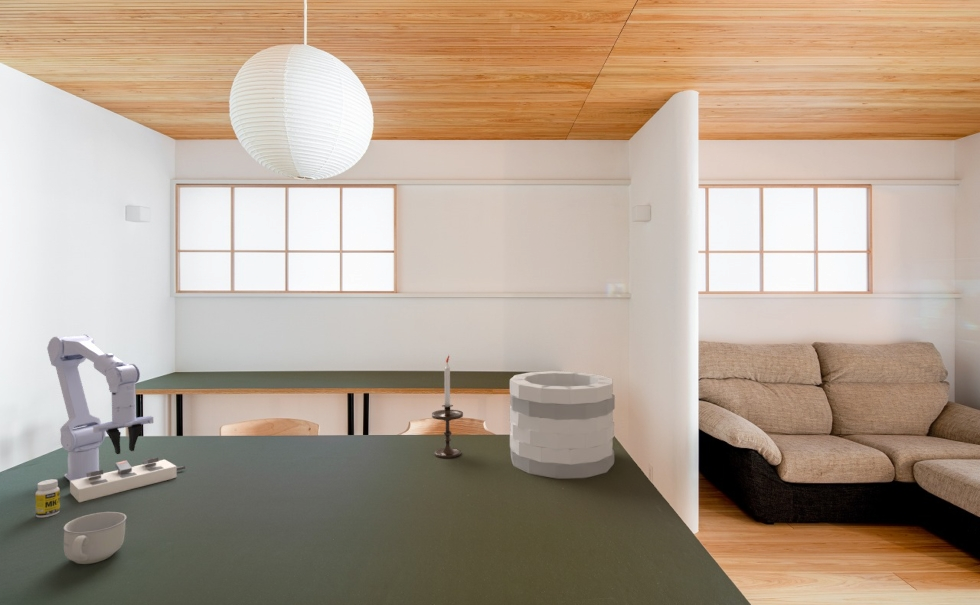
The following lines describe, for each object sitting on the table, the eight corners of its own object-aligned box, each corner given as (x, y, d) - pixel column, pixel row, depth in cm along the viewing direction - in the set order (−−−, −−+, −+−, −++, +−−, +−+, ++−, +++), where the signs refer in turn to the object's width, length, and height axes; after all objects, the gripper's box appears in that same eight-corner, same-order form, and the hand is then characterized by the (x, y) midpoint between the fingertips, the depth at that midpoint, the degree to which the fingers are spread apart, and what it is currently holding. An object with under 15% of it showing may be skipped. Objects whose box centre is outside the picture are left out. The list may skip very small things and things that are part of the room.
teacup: (87, 545, 116) (86, 510, 116) (137, 543, 117) (137, 508, 117) (38, 580, 103) (37, 540, 102) (96, 577, 103) (95, 538, 103)
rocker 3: (142, 464, 159) (142, 460, 159) (153, 462, 161) (152, 458, 162) (148, 463, 156) (147, 459, 156) (158, 461, 158) (158, 457, 158)
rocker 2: (115, 466, 154) (115, 462, 154) (126, 463, 156) (126, 460, 156) (120, 474, 151) (120, 470, 151) (131, 471, 153) (131, 467, 153)
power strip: (70, 493, 147) (69, 478, 146) (178, 466, 168) (178, 454, 168) (79, 502, 140) (78, 487, 140) (190, 473, 162) (190, 460, 162)
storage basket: (506, 445, 190) (505, 371, 190) (599, 443, 192) (599, 370, 191) (514, 480, 155) (514, 389, 155) (628, 478, 157) (628, 388, 156)
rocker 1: (86, 477, 148) (86, 472, 149) (98, 474, 151) (98, 470, 151) (91, 476, 145) (90, 472, 146) (103, 474, 147) (102, 469, 148)
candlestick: (469, 452, 182) (468, 353, 181) (450, 461, 173) (450, 357, 172) (444, 447, 188) (444, 351, 187) (425, 455, 178) (425, 355, 178)
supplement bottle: (45, 519, 130) (44, 486, 130) (30, 517, 131) (30, 484, 131) (64, 510, 135) (64, 479, 135) (50, 509, 136) (49, 477, 135)
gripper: (97, 412, 144) (98, 461, 144) (156, 403, 155) (157, 448, 155) (90, 409, 148) (91, 455, 149) (148, 400, 160) (149, 444, 160)
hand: (124, 451), depth 152 cm, fingers open, 3 cm apart
